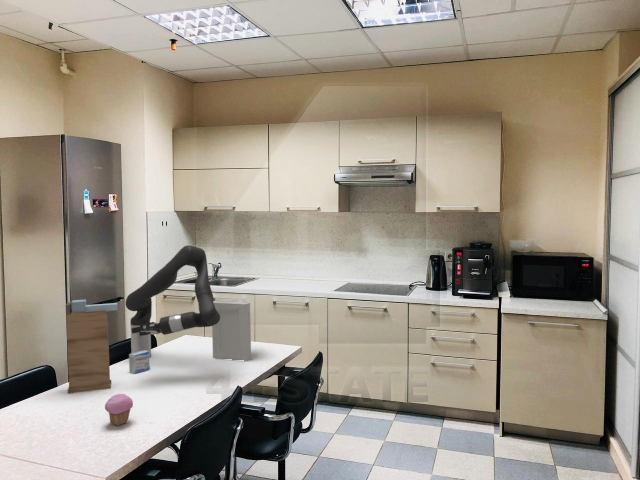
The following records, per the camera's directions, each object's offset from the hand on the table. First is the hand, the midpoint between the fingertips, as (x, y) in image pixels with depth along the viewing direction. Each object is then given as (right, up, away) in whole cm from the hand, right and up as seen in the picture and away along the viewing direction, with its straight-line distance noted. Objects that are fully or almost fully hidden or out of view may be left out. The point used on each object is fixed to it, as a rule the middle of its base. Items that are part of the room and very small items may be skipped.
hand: (135, 332), depth 215 cm
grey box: (+37, -19, +36) cm, 55 cm away
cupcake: (+10, -24, -43) cm, 50 cm away
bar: (-14, +10, -9) cm, 19 cm away
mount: (-16, -22, -8) cm, 28 cm away
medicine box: (-3, -21, +14) cm, 25 cm away
